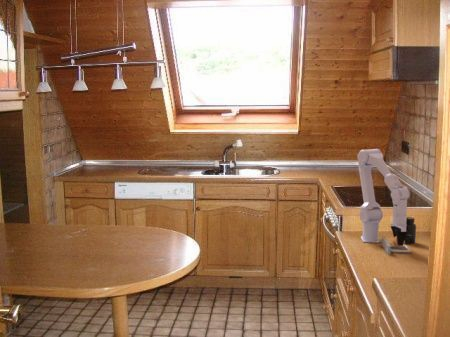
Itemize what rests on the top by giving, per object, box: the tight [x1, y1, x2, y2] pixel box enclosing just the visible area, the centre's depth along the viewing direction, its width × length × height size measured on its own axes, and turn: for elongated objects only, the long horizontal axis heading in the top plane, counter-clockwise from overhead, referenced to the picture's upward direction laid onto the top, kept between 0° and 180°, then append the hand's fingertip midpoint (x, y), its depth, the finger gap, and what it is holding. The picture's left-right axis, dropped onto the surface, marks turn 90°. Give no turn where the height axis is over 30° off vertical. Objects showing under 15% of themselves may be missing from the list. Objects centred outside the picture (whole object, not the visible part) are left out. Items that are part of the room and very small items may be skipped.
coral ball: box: [392, 236, 405, 247], centre depth 234 cm, size 5×5×5 cm
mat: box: [390, 244, 412, 255], centre depth 235 cm, size 11×9×1 cm
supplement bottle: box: [404, 216, 417, 245], centre depth 246 cm, size 7×7×12 cm
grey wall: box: [381, 235, 392, 256], centre depth 235 cm, size 16×1×4 cm, turn 173°
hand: (398, 243), depth 235 cm, fingers closed on coral ball, 5 cm apart
